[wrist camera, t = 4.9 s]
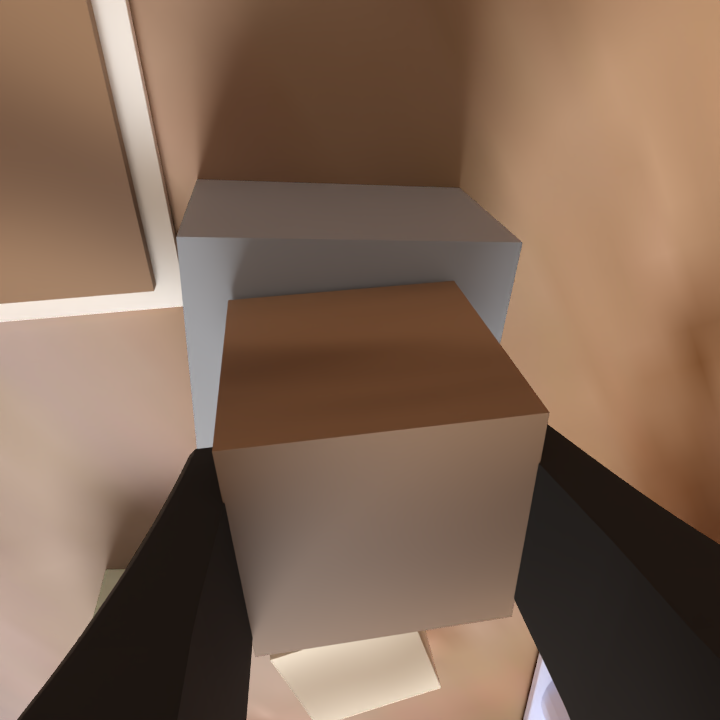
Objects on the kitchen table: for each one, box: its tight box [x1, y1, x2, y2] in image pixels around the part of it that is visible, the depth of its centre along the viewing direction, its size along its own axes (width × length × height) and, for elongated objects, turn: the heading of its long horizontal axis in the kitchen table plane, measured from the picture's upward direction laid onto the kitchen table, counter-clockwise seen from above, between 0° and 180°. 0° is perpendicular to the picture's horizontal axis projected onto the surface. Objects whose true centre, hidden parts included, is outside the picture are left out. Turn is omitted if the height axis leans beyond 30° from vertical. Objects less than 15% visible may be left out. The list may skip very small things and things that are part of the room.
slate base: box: [176, 179, 522, 449], centre depth 13 cm, size 6×6×4 cm
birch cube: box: [270, 630, 441, 720], centre depth 18 cm, size 4×4×4 cm
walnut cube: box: [212, 281, 549, 657], centre depth 9 cm, size 4×4×4 cm
